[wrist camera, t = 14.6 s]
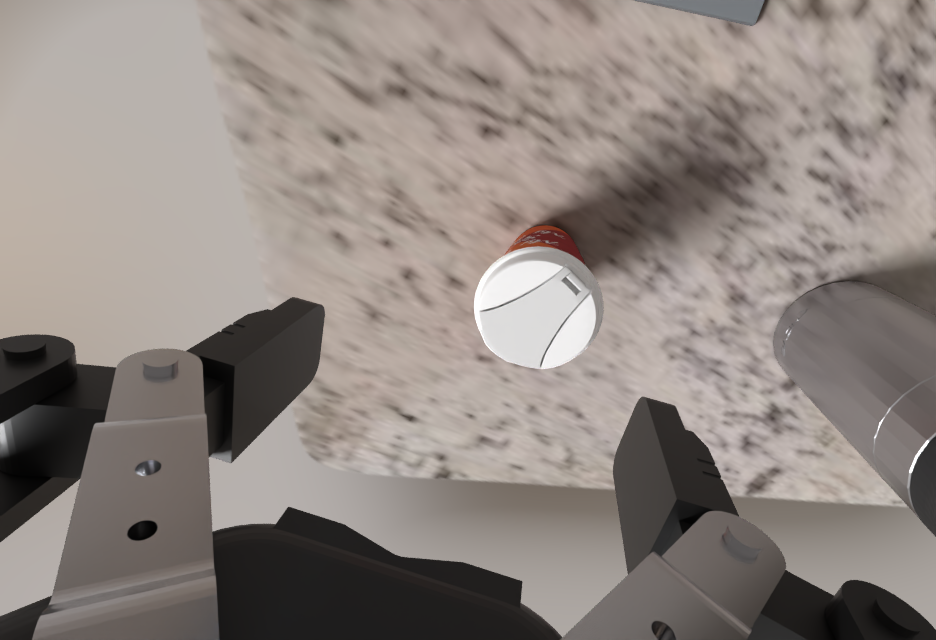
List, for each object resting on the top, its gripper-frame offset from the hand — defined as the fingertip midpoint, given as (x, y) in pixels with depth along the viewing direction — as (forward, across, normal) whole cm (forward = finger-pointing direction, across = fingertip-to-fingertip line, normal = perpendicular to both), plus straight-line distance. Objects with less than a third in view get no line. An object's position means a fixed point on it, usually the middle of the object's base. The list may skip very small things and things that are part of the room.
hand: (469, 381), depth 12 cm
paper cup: (+30, -2, +4) cm, 31 cm away
